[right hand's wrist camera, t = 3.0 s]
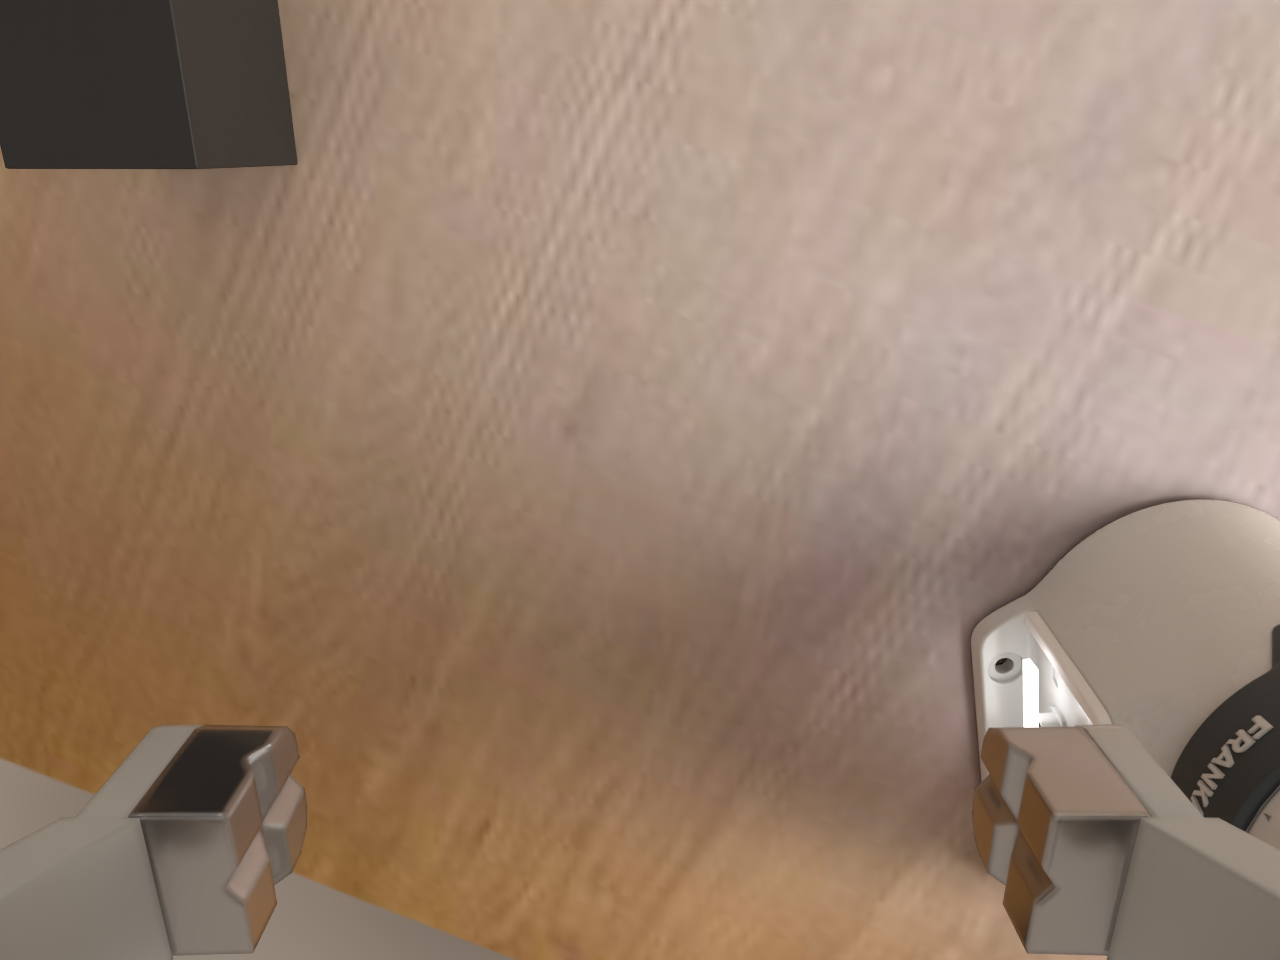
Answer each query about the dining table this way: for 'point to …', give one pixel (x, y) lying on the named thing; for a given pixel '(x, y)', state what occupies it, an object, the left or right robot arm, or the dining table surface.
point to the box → (143, 85)
